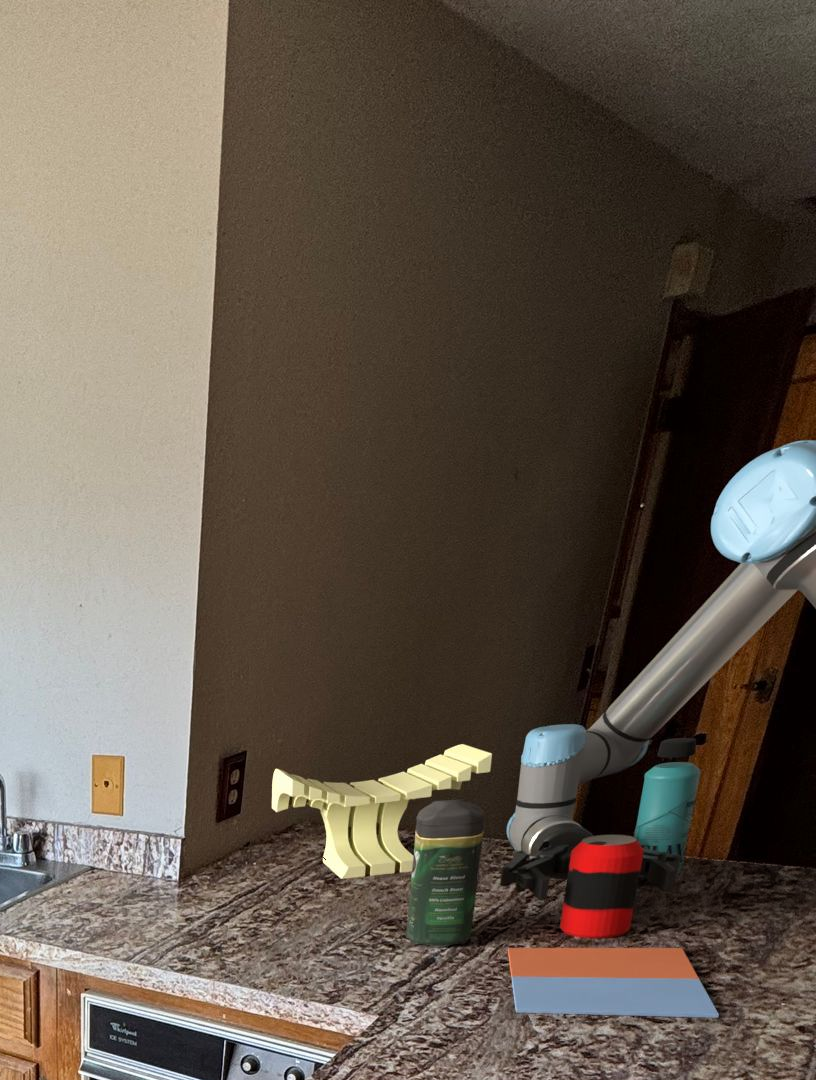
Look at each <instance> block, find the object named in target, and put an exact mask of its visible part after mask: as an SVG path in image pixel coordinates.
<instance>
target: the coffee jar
mask: <svg viewBox="0 0 816 1080" xmlns="http://www.w3.org/2000/svg"><path fill="white" fill-rule="evenodd" d="M484 830H485V812H484V810H483V809H482V808H481V807H480V806H478V805H476V804H474V803H471V802H469V801H468V800H467V799H447V800H434V801H432V802H431V803H430V804H429V805H426V806H425V807H423V808H422V809H420V810H419V811H418V814H417V816H416V823H415V833H414V846H413V866H412V871H411V879H410V889H409V901H408V911H407V919H406V920H407V921H406V922H407V923H406V936H407V938H408V940H409V942H411V943H413V944H415V945H424V946H430V947H431V948H432V947H433V948H434V947H435V948H439V947H440V948H444V947H449V946H452V945H458V944H465V943H467V942H468V941H469V940H470V939H471V936H472V929H473V921H474V914H475V905H476V897H477V891H478V884H479V883H478V882H479V876H480V868H481V858H482V850H483V849H482V848H483V840H484V839H483V838H484Z"/></svg>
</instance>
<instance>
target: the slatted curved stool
mask: <svg viewBox="0 0 816 1080" xmlns="http://www.w3.org/2000/svg"><path fill="white" fill-rule="evenodd" d="M492 758H493V753H491V752H488V751H486V750H482V749H479V748H476V747H473V746H470V745H467V744H464V743H461V744H457V745H455V746H452V747H449V748H447V749H445V750H444V753H443V754H438V755H436V756H433V757H430V758H429V759H426V760H425V762H424V764H423V763H420V764H417V765H414V766H412V767H409V768H407V771H406V772H405V771H401V772H398V773H394V774H391V775H386V776H383V777H380V778H378V779H377V780H375V779H369V780H362V781H353V782H350V783H349V784H348V783H347V782H330V781H323V782H321V781H319V780H317V779H312V778H306V779H305V778H304V777H303V776H300V775H297V774H293V773H291V774H290V773H288V772H287V771H285V770H283V769H280V768H275V769H274V772H273V775H272V781H271V782H272V784H271V787H272V788H271V809H272V810H273V811H275V813H279V812H282V811H284V810H288V809H289V806H291V807H292V808H300V807H306V805H308V806H309V807H311V808H315V809H317V810H319V811H320V815H321V817H322V820H323V823H324V828H325V833H326V834H325V835H326V838H325V839H326V841H325V848H324V852H323V856H322V862H323V864H324V865H325V866H326V867H328V868H329V870H331V872H333V873H334V874H335V875H336V876H337V877H339V879H341V880H345V879H353V878H362V877H363V878H364V877H366V876H367V875H369V876H370V877H372V876H381V875H383V876H384V875H390V874H395V872H399V873H401V874H402V873H409V872H411V873H412V866H413V856H414V854H412V853H411V852H410V851H409V850H408V849H407V848H405V846H404V845H403V844H402V842H401V840H400V838H399V833H398V832H399V831H398V830H399V825H400V823H401V822H400V821H401V819H402V817H403V815H404V813H405V811H406V810H407V808H408V804H409V802H410V800H416V799H422V798H430V797H432V793H433V791H441V790H459V791H460V790H461V788H462V787H461V786H462V783H463V782H469V781H471V778H472V777H471V776H472V773H475V774H483V773H490V772H491V768H492ZM323 857H324V858H325V859H326V860H325V859H324V858H323Z"/></svg>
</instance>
